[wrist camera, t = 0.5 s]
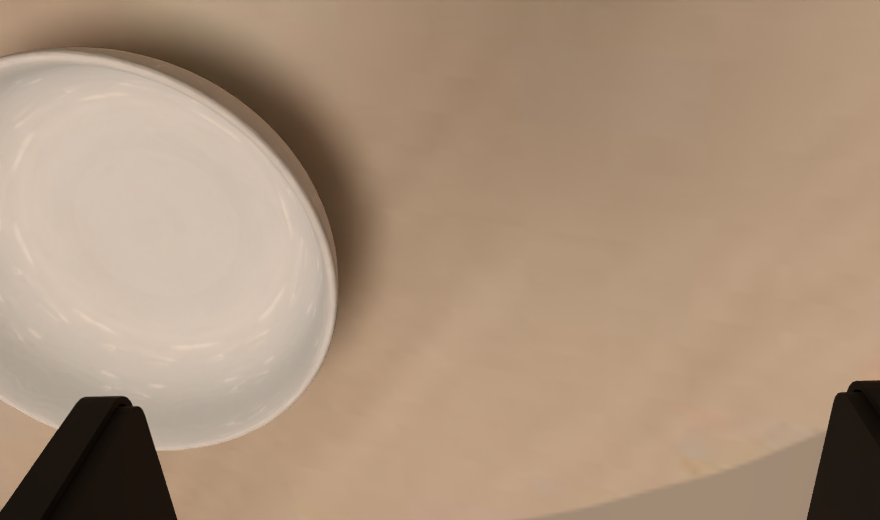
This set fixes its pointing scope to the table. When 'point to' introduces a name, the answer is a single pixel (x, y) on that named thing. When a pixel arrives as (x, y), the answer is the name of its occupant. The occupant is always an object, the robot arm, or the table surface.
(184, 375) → the serving bowl
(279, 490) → the table surface
